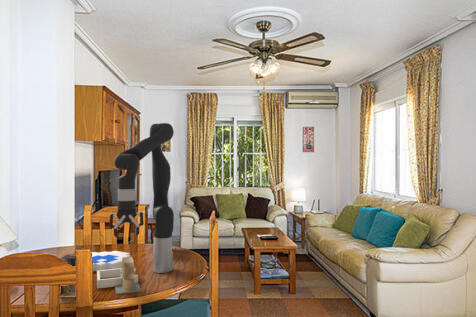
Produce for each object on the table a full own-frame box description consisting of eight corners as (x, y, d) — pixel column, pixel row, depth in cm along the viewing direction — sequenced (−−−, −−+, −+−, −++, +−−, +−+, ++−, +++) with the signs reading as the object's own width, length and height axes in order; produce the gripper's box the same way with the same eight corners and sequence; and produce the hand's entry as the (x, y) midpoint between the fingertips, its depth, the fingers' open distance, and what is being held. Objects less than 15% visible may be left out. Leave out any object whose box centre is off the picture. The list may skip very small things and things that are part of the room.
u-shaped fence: (134, 273, 171) (134, 266, 171) (137, 283, 157) (138, 275, 157) (97, 278, 164) (97, 270, 164) (97, 288, 150) (97, 280, 150)
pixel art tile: (140, 255, 193) (99, 267, 168) (140, 262, 193) (99, 276, 168) (105, 249, 206) (62, 260, 181) (105, 255, 206) (61, 267, 181)
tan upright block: (131, 283, 155) (131, 256, 156) (133, 290, 146) (134, 262, 146) (121, 284, 154) (122, 257, 154) (123, 292, 145) (124, 263, 145)
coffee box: (88, 292, 146) (89, 253, 146) (82, 298, 140) (82, 257, 140) (66, 292, 146) (67, 253, 146) (59, 298, 139) (59, 257, 140)
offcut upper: (120, 275, 163) (120, 269, 163) (135, 273, 165) (135, 268, 165) (119, 277, 159) (119, 271, 159) (135, 276, 161) (135, 270, 161)
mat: (138, 283, 156) (138, 282, 156) (140, 291, 147) (140, 290, 147) (114, 286, 153) (114, 285, 153) (116, 294, 143) (116, 293, 143)
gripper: (142, 197, 158) (141, 233, 158) (108, 199, 152) (108, 236, 152) (144, 199, 151) (144, 236, 151) (110, 200, 145) (109, 239, 145)
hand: (126, 236), depth 152 cm, fingers open, 8 cm apart
